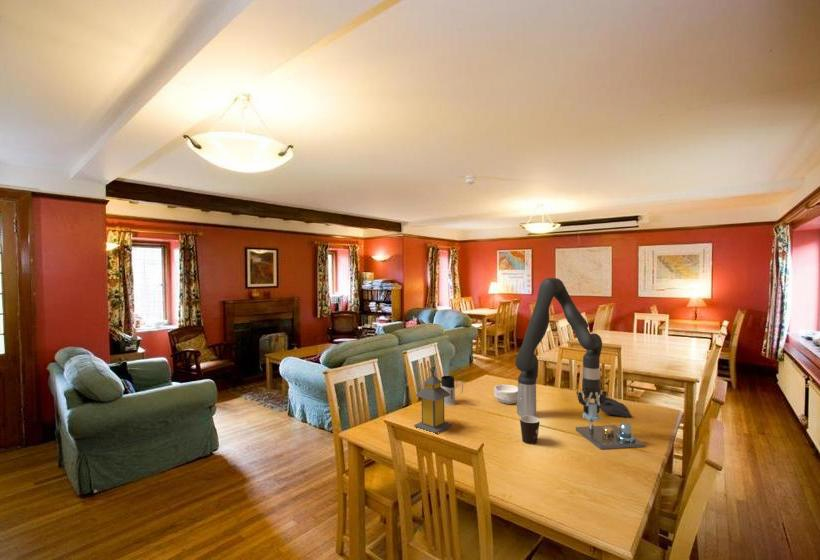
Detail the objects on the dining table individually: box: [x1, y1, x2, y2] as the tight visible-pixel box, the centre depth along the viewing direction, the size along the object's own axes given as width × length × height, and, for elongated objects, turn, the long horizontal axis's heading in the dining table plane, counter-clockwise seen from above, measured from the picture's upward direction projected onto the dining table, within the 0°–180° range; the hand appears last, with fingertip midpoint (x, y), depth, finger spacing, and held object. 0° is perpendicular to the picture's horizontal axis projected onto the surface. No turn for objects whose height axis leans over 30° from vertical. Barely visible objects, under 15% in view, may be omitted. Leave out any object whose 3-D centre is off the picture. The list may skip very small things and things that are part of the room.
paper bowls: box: [493, 383, 518, 405], centre depth 226 cm, size 15×15×8 cm
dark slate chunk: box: [600, 396, 633, 418], centre depth 210 cm, size 15×22×5 cm
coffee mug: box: [519, 416, 541, 445], centre depth 174 cm, size 12×9×10 cm
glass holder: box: [440, 375, 464, 406], centre depth 223 cm, size 9×14×15 cm, turn 54°
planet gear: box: [582, 401, 602, 422], centre depth 179 cm, size 8×8×7 cm
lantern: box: [414, 366, 453, 435], centre depth 191 cm, size 14×14×30 cm
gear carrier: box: [575, 420, 645, 450], centre depth 175 cm, size 20×20×8 cm
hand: (591, 412), depth 179 cm, fingers closed on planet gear, 4 cm apart
